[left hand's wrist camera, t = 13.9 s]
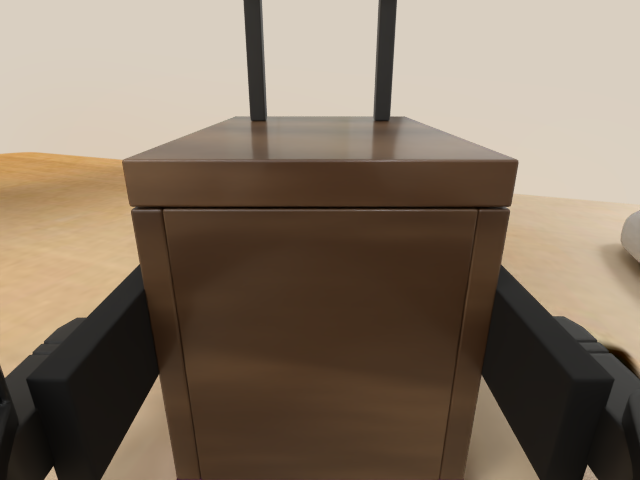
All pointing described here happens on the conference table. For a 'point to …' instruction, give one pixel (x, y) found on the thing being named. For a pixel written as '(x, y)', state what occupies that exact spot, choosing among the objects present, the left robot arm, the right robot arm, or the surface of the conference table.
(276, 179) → the lid
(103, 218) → the conference table surface
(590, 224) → the conference table surface
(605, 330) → the conference table surface
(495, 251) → the chest
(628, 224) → the projector
